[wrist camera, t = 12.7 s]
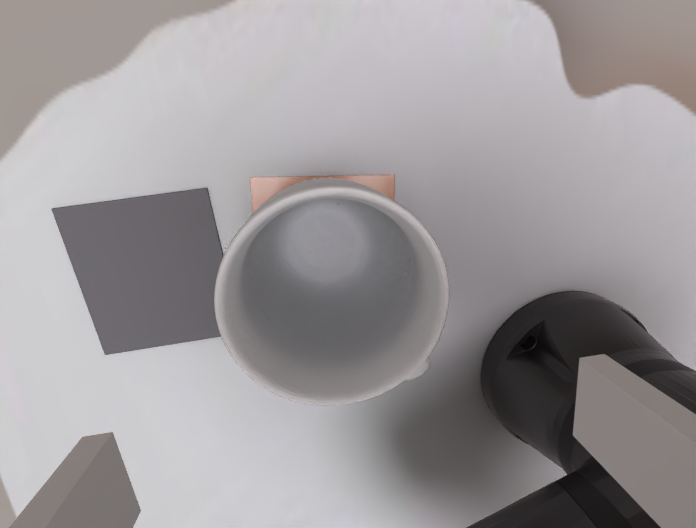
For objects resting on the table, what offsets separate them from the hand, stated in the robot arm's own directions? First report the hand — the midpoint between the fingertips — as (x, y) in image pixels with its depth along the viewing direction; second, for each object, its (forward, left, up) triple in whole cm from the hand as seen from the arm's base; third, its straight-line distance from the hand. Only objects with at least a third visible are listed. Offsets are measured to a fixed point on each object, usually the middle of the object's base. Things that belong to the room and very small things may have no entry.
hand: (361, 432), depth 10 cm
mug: (0, 0, -20) cm, 20 cm away
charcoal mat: (+14, 0, -21) cm, 25 cm away
